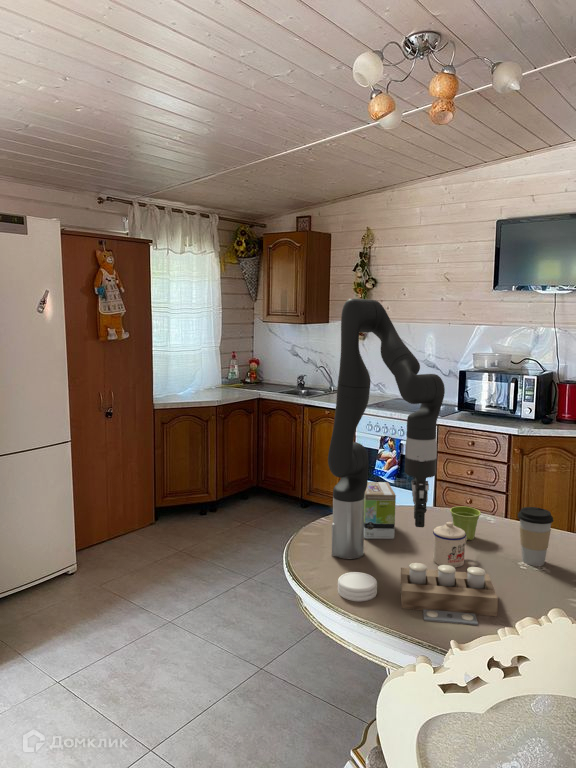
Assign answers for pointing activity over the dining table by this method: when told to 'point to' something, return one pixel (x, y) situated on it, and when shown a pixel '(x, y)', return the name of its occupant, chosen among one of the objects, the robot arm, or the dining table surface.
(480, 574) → the right button
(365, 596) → the coaster
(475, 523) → the plant pot
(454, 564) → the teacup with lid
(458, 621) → the card
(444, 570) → the middle button
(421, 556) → the dining table surface
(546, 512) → the coffee cup
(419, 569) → the left button
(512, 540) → the dining table surface
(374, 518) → the tea box
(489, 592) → the button board
